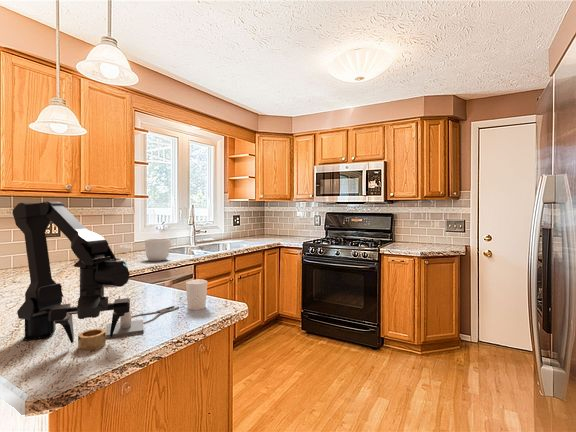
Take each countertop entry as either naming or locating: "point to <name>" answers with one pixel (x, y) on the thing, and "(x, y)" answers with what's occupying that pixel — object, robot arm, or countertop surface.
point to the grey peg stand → (126, 327)
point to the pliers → (157, 312)
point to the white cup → (196, 294)
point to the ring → (91, 339)
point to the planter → (157, 249)
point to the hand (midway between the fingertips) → (92, 339)
